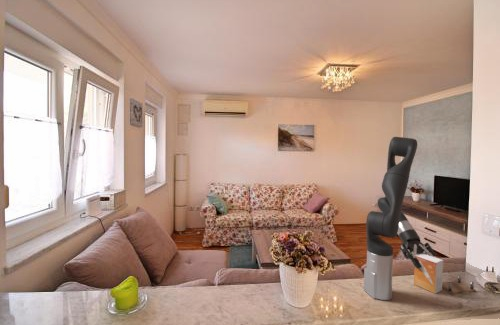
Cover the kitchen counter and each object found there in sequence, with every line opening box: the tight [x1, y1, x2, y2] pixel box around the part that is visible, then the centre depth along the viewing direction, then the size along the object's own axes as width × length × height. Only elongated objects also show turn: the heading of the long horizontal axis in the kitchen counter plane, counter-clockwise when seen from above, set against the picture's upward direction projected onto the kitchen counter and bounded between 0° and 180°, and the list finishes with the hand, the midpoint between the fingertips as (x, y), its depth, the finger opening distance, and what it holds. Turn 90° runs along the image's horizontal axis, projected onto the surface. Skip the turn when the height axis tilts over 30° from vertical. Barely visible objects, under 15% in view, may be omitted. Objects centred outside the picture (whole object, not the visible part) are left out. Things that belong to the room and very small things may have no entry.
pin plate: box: [442, 274, 477, 295], centre depth 99 cm, size 12×7×4 cm, turn 99°
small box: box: [413, 253, 444, 294], centre depth 99 cm, size 8×6×13 cm
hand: (427, 267), depth 99 cm, fingers closed on small box, 7 cm apart
